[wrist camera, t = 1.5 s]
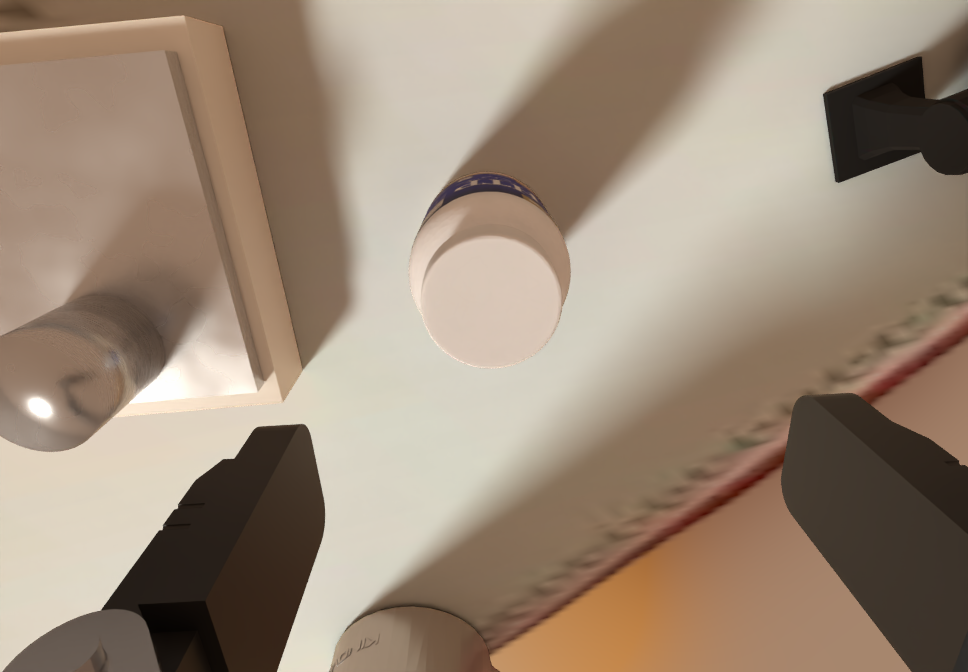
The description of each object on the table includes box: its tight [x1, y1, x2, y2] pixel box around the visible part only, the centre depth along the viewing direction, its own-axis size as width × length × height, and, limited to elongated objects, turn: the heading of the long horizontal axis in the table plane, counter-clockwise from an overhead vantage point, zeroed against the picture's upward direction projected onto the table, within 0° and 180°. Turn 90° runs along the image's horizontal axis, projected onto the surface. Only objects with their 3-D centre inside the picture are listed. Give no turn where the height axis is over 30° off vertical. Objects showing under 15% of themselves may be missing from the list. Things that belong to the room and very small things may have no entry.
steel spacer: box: [0, 295, 164, 452], centre depth 19 cm, size 4×4×4 cm
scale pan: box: [0, 50, 264, 403], centre depth 20 cm, size 10×12×1 cm
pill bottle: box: [409, 172, 571, 368], centre depth 20 cm, size 5×5×9 cm
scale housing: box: [0, 15, 303, 417], centre depth 22 cm, size 16×14×4 cm
